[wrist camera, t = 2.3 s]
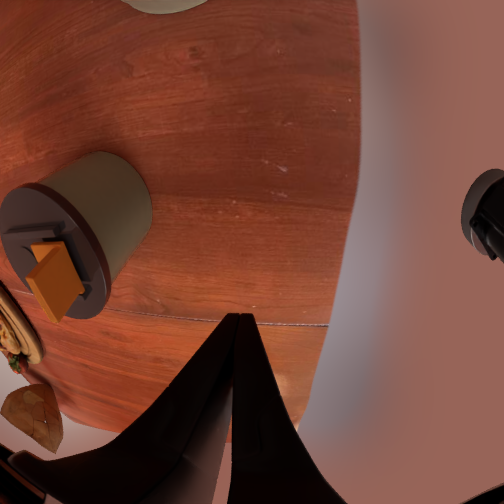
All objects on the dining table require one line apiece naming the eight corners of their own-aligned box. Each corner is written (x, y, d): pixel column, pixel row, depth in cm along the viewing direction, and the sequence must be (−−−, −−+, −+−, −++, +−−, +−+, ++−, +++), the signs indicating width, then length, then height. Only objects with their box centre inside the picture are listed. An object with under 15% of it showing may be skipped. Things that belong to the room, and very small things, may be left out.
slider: (63, 240, 13) (30, 275, 10) (85, 290, 15) (60, 326, 12) (33, 241, 13) (3, 272, 10) (54, 286, 15) (30, 318, 12)
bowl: (40, 388, 63) (20, 431, 46) (13, 355, 51) (-14, 405, 35) (86, 411, 63) (67, 461, 46) (61, 382, 51) (34, 442, 35)
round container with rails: (143, 136, 18) (62, 178, 10) (168, 255, 24) (125, 334, 16) (51, 159, 19) (-21, 203, 11) (81, 254, 25) (32, 314, 17)
